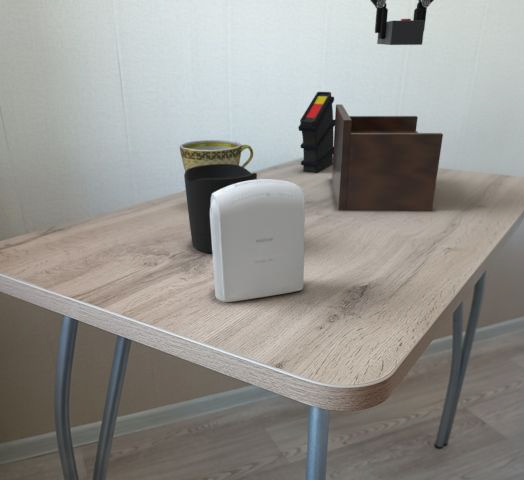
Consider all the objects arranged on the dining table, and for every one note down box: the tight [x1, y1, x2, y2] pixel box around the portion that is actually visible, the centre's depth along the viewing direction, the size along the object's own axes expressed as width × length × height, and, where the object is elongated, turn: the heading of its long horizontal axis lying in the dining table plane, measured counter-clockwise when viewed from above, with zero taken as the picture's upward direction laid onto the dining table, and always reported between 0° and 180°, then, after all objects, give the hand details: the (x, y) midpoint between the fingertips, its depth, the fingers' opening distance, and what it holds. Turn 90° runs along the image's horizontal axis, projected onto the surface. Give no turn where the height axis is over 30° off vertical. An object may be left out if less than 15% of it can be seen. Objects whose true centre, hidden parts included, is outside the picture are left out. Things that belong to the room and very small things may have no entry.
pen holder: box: [183, 164, 258, 255], centre depth 74 cm, size 9×9×10 cm
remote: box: [376, 18, 426, 46], centre depth 85 cm, size 4×15×3 cm, turn 177°
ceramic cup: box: [179, 139, 254, 173], centre depth 92 cm, size 13×10×10 cm
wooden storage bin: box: [331, 103, 444, 212], centre depth 97 cm, size 15×22×14 cm
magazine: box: [297, 91, 335, 174], centre depth 117 cm, size 4×13×15 cm, turn 155°
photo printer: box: [210, 178, 306, 303], centre depth 59 cm, size 10×4×12 cm, turn 109°
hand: (398, 37), depth 85 cm, fingers closed on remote, 4 cm apart
